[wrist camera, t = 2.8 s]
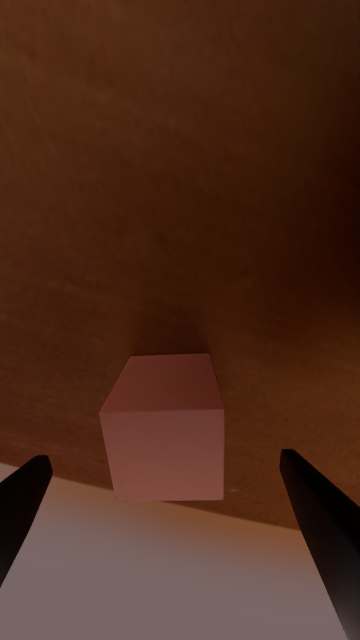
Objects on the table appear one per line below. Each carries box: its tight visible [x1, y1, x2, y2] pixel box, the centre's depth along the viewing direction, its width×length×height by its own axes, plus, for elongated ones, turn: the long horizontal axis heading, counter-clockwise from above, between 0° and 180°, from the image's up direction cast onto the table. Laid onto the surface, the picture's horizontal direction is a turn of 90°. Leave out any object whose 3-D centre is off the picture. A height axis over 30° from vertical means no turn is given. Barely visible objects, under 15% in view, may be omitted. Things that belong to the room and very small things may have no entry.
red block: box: [99, 353, 225, 502], centre depth 10 cm, size 4×4×4 cm
